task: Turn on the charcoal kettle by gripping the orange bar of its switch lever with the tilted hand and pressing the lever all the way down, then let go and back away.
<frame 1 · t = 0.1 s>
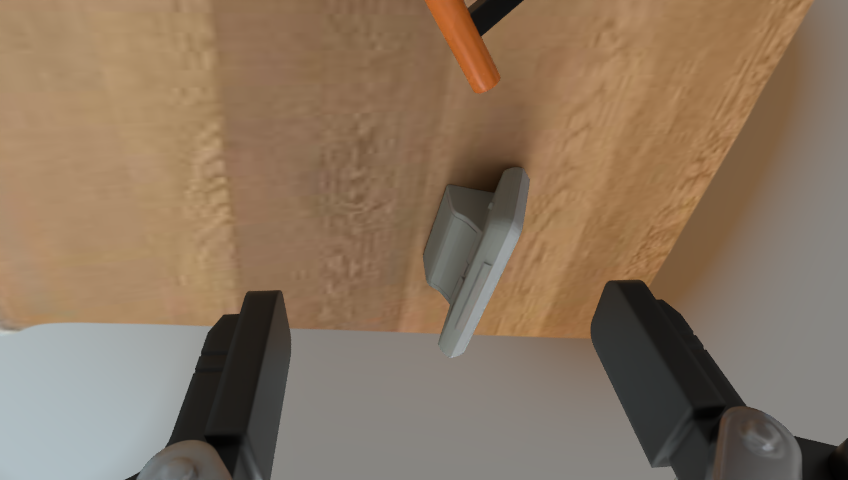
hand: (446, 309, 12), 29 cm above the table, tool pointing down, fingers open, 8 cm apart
digital clock: (473, 227, 47), on the table
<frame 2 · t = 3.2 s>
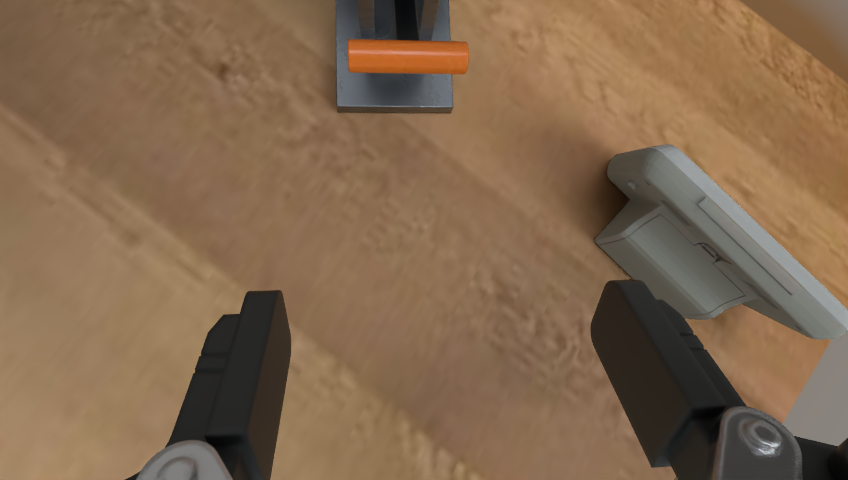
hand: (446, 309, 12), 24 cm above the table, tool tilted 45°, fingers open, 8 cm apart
digital clock: (662, 243, 38), on the table
switch bracket: (393, 47, 38), on the table
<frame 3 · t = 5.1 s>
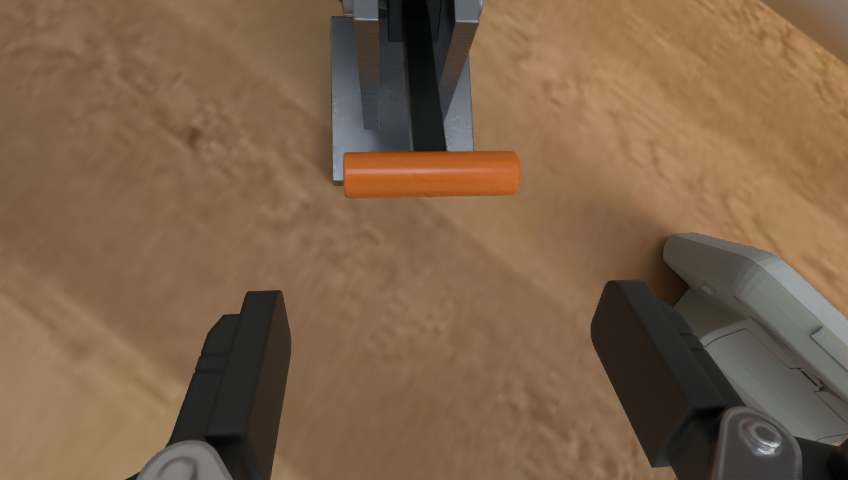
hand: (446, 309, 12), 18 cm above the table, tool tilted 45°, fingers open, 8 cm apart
digital clock: (730, 339, 31), on the table
switch lever: (419, 67, 18), point 13 cm above the table, hinge at 25.0°
switch bracket: (401, 104, 31), on the table
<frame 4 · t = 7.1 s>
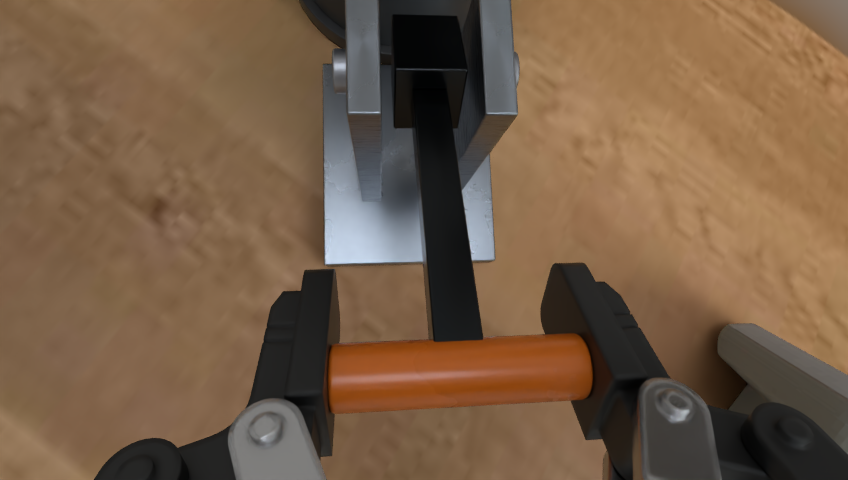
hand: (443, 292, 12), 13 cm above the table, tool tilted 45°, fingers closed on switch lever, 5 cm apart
digital clock: (795, 445, 27), on the table
switch lever: (437, 181, 13), point 13 cm above the table, hinge at 25.0°, touching gripper
switch bracket: (406, 167, 26), on the table
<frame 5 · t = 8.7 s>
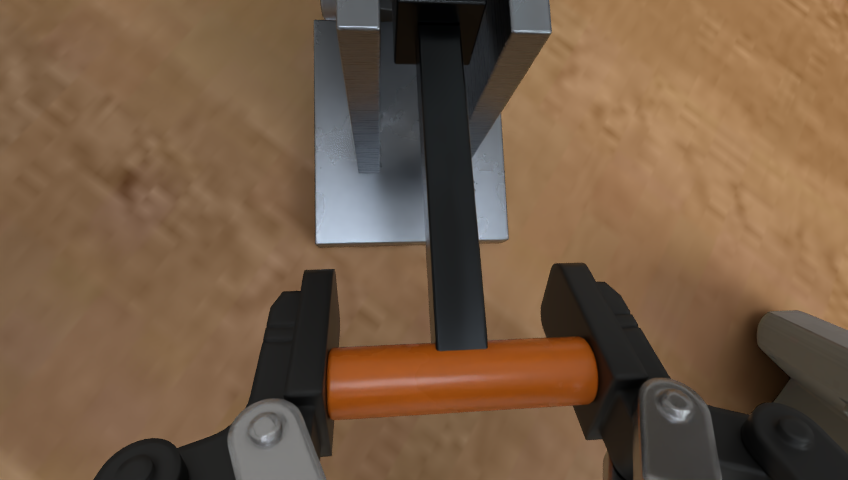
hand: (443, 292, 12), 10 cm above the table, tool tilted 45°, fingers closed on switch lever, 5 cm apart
digital clock: (844, 448, 24), on the table
switch lever: (444, 149, 11), point 12 cm above the table, hinge at 8.3°, touching gripper
switch bracket: (408, 136, 24), on the table
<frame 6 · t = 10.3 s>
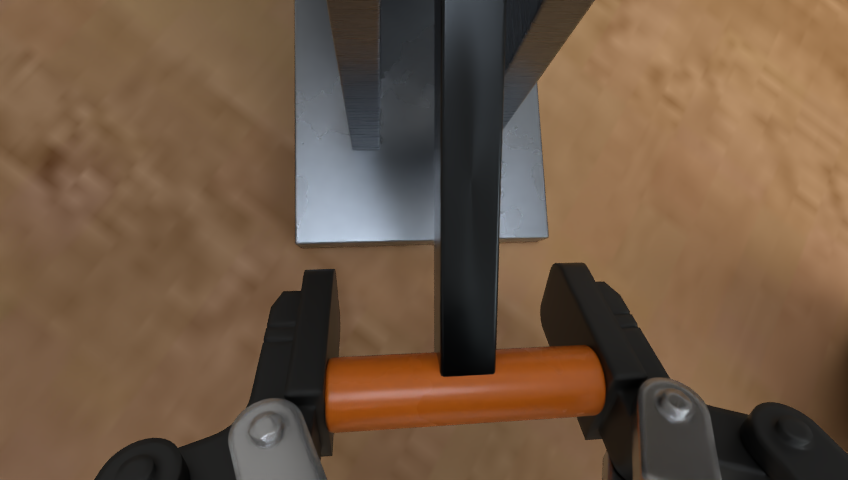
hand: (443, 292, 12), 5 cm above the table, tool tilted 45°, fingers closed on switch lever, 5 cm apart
switch lever: (467, 119, 9), point 9 cm above the table, hinge at -19.9°, touching gripper
switch bracket: (417, 106, 18), on the table
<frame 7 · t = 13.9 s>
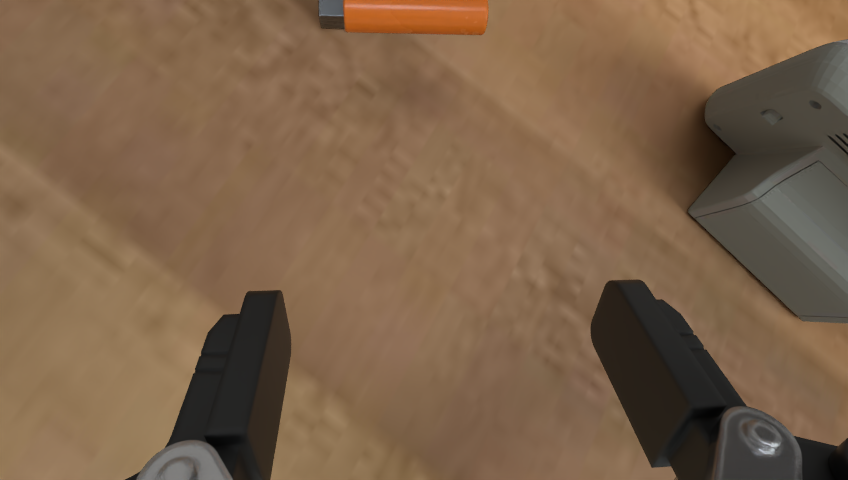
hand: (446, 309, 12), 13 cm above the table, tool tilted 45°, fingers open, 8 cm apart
digital clock: (781, 215, 27), on the table
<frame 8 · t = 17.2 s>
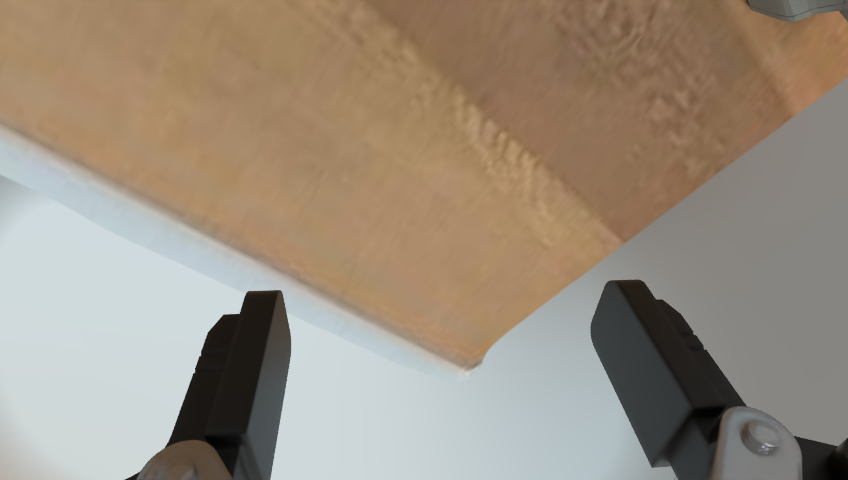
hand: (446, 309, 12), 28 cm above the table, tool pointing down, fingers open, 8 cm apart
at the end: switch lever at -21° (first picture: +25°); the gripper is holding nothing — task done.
